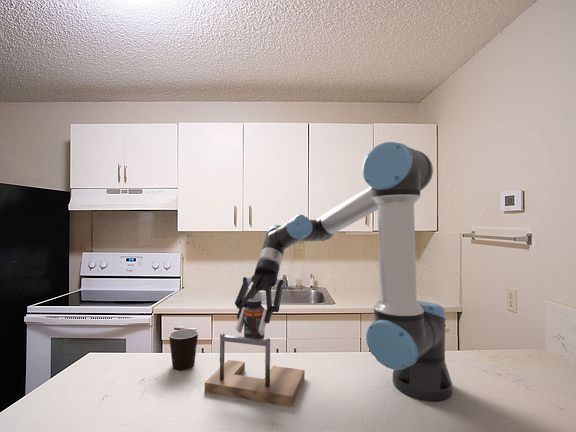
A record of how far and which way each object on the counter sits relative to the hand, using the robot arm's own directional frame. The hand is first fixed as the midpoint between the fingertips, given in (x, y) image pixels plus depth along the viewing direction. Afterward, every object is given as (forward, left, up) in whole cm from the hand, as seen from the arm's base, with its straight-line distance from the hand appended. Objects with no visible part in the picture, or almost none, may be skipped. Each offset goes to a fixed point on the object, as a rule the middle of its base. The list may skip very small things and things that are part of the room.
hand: (249, 331), depth 87 cm
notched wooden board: (-2, 0, -14) cm, 15 cm away
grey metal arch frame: (0, +4, -12) cm, 13 cm away
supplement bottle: (0, -4, -4) cm, 5 cm away
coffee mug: (+24, -6, -15) cm, 29 cm away
